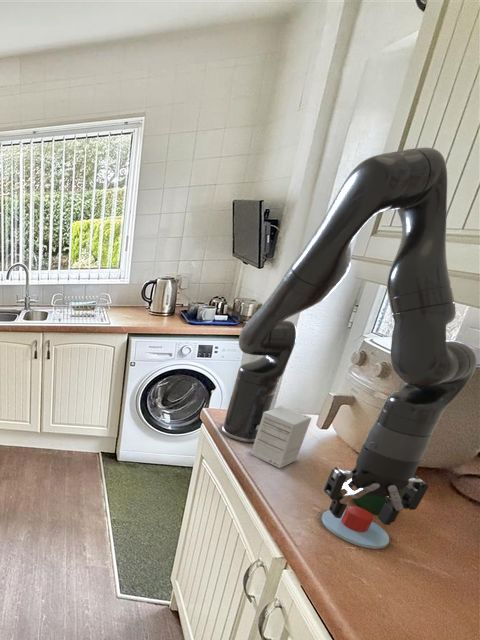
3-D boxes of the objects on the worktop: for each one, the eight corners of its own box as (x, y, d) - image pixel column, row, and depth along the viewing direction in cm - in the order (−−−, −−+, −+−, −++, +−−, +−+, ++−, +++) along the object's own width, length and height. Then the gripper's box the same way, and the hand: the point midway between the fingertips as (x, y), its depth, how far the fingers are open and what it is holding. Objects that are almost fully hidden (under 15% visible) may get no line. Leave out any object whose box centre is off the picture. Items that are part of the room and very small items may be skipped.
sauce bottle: (345, 496, 90) (375, 430, 83) (373, 495, 90) (405, 429, 83) (372, 516, 84) (407, 447, 77) (402, 515, 84) (439, 446, 77)
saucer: (311, 509, 86) (313, 506, 86) (367, 516, 84) (369, 513, 84) (337, 543, 77) (339, 540, 77) (401, 553, 75) (403, 550, 75)
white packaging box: (266, 447, 108) (280, 405, 103) (296, 461, 102) (313, 417, 97) (249, 454, 106) (262, 411, 100) (279, 469, 99) (295, 424, 94)
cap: (337, 516, 83) (342, 504, 82) (359, 520, 82) (365, 507, 81) (348, 530, 79) (354, 517, 78) (371, 534, 78) (378, 521, 77)
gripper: (425, 442, 75) (389, 511, 81) (334, 433, 78) (307, 500, 85) (459, 465, 68) (417, 539, 75) (358, 454, 71) (326, 525, 78)
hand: (358, 518), depth 80 cm, fingers open, 7 cm apart
